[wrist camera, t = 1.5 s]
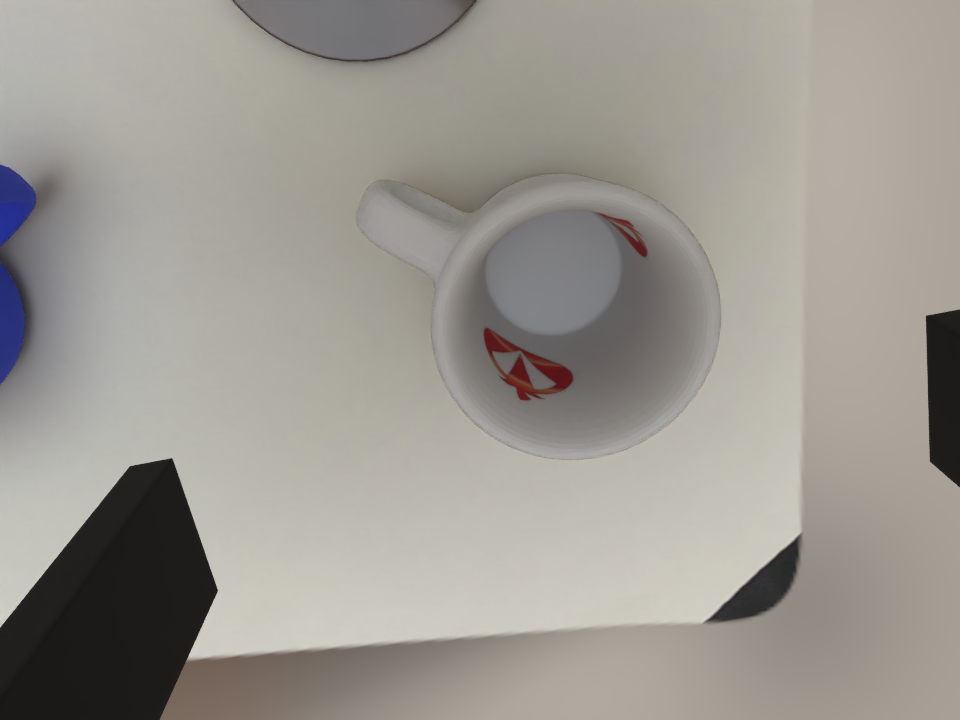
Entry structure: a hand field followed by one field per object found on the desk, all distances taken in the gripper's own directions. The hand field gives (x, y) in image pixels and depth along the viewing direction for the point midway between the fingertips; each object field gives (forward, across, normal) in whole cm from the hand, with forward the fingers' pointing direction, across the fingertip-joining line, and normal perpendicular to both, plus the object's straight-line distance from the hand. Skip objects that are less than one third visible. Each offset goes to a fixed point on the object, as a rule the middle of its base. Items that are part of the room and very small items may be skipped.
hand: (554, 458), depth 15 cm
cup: (+17, 0, 0) cm, 17 cm away
